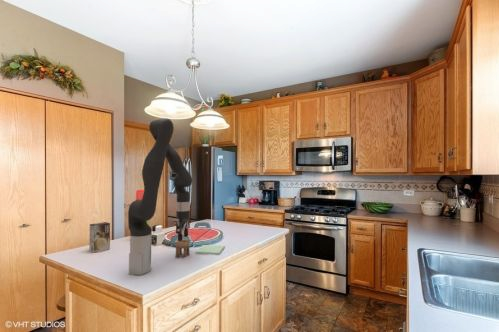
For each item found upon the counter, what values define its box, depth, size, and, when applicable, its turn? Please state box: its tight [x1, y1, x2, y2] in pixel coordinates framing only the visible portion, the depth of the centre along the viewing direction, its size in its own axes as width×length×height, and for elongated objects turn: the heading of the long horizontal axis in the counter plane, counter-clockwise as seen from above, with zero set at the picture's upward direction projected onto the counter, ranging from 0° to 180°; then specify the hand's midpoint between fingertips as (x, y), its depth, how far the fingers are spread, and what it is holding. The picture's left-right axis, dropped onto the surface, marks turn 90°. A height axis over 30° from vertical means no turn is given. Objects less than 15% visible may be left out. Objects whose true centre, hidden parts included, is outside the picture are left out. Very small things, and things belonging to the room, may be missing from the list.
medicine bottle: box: [151, 224, 166, 247], centre depth 164 cm, size 7×7×12 cm
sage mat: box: [194, 244, 226, 256], centre depth 149 cm, size 14×14×1 cm
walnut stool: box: [174, 239, 191, 258], centre depth 140 cm, size 6×6×8 cm
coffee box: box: [88, 221, 111, 254], centre depth 150 cm, size 9×6×16 cm
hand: (183, 238), depth 141 cm, fingers open, 8 cm apart
